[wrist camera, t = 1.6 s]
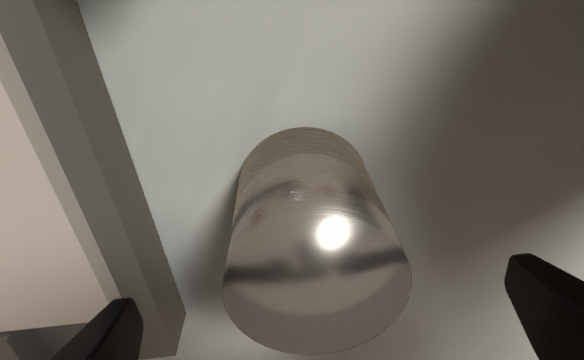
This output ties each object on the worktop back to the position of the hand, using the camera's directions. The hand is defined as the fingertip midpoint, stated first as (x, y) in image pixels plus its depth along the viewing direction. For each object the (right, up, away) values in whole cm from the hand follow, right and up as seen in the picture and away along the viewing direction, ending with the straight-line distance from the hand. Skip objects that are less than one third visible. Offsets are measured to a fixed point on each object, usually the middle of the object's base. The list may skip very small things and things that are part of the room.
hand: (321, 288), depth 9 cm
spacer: (0, +2, +4) cm, 5 cm away
